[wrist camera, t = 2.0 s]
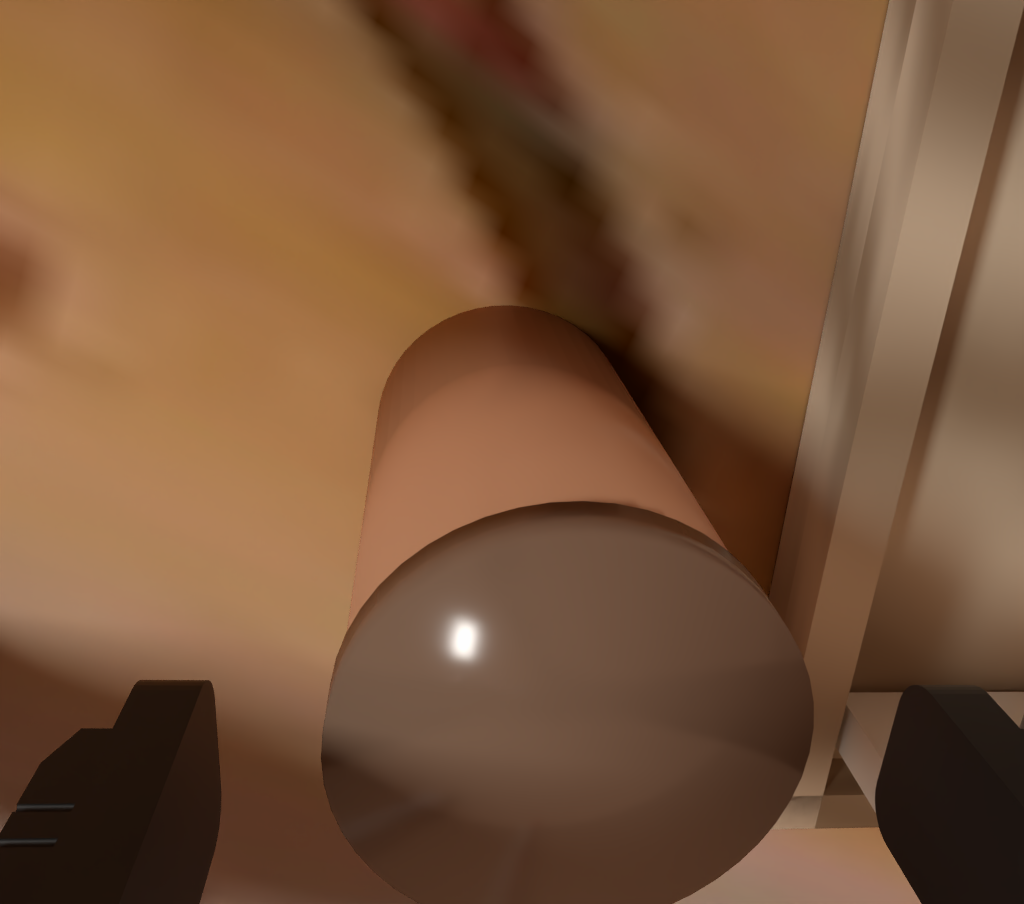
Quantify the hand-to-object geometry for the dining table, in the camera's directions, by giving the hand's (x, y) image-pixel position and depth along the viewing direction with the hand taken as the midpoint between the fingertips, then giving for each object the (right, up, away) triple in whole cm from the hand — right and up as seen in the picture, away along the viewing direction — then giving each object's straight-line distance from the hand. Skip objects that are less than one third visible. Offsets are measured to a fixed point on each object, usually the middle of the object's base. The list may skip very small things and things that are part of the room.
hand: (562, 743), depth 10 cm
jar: (-1, +4, +8) cm, 9 cm away
